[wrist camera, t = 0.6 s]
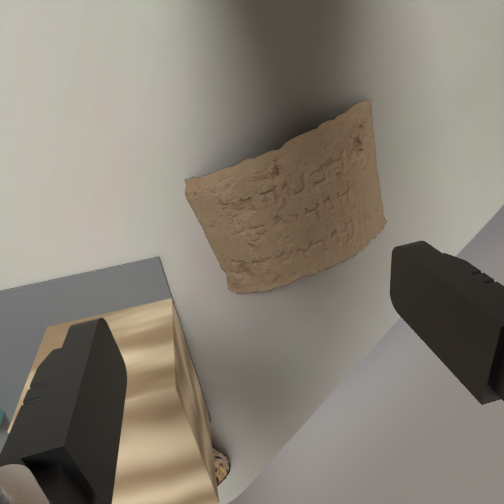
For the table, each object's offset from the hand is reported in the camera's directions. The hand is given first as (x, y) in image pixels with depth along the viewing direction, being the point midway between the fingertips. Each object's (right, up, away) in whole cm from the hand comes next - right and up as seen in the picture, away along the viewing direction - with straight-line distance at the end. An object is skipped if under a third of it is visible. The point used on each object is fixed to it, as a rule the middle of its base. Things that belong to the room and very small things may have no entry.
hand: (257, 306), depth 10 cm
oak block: (-11, -10, +24) cm, 28 cm away
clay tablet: (+3, +6, +19) cm, 20 cm away
